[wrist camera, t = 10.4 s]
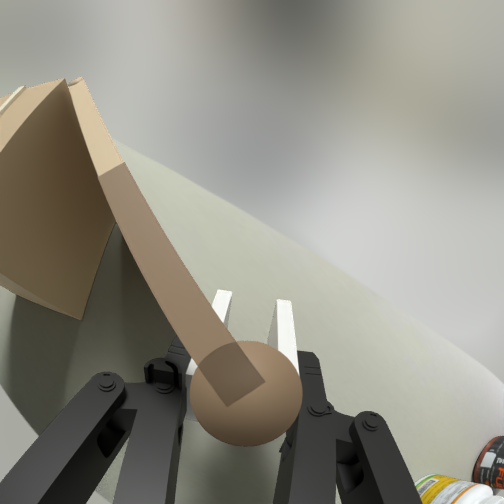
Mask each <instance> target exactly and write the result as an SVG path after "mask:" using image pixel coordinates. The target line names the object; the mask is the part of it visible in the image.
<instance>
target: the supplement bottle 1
mask: <svg viewBox="0 0 504 504" xmlns="http://www.w3.org/2000/svg"><path fill="white" fill-rule="evenodd" d="M414 484H415V486H416V489H417V491H418V493H419V496H420V498H421V501H422V503H423V504H504V497H502V496H498V495H496V496H493V491H492V489H491V488H490V487H489V486H487V485H483V484H478V483H473V482H468V481H463V480H459V479H455V478H451V477H447V476H443V475H439V474H430V475H427V476H425V477H423V478H421V479H420V480H418V481H417V482H416V483H414Z"/></svg>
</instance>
